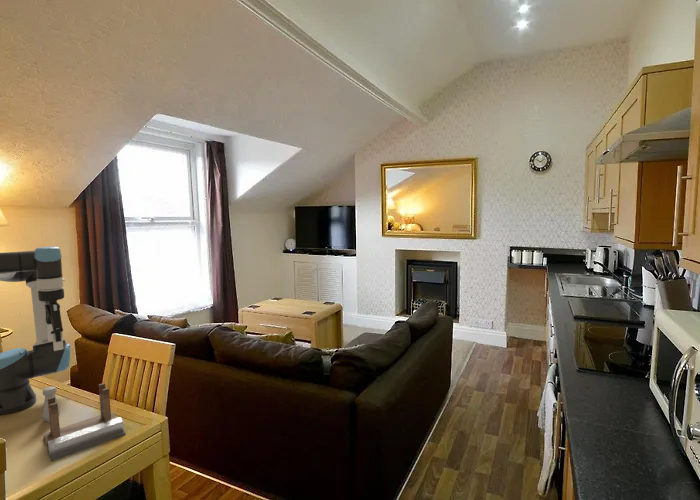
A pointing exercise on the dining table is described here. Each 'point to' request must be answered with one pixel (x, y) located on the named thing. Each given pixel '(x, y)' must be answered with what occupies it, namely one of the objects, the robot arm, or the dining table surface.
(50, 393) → the salt shaker
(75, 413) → the dining table surface
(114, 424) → the metal rail
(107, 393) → the bracket stand
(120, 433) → the rubber mat
